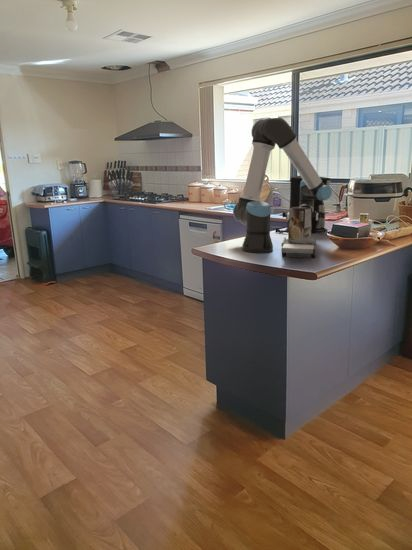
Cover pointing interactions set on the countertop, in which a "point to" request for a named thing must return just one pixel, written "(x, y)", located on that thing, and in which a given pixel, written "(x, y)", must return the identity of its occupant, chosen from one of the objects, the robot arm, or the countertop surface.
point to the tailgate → (297, 248)
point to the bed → (303, 255)
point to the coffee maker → (318, 204)
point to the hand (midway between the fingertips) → (302, 217)
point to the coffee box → (300, 225)
